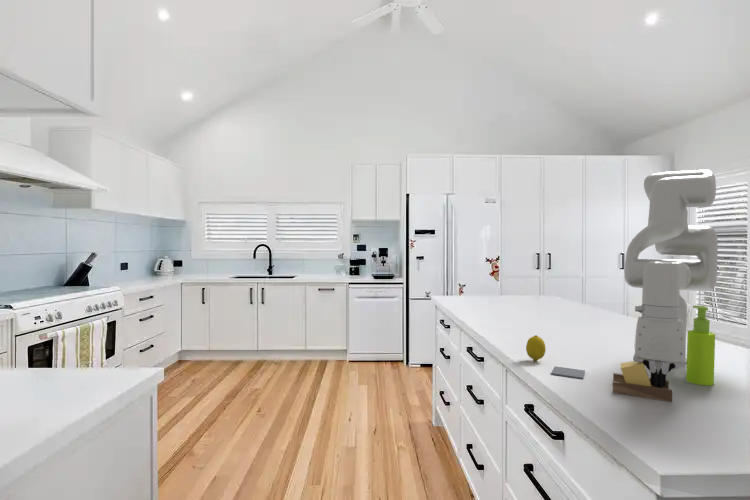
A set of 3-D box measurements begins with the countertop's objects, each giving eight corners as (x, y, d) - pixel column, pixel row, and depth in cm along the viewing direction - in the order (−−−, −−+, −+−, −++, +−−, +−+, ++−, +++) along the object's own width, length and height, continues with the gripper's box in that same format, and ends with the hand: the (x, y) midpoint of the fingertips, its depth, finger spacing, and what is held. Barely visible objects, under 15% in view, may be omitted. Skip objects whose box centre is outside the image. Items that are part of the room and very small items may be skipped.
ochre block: (628, 386, 113) (620, 363, 114) (650, 383, 111) (642, 359, 112) (629, 392, 109) (620, 368, 109) (652, 389, 106) (643, 364, 107)
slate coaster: (554, 367, 130) (554, 366, 130) (585, 371, 126) (585, 370, 126) (551, 374, 123) (551, 373, 123) (583, 379, 119) (583, 377, 119)
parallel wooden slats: (613, 382, 117) (613, 372, 117) (668, 390, 111) (668, 380, 111) (612, 392, 108) (613, 382, 108) (672, 401, 103) (672, 390, 103)
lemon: (546, 364, 133) (547, 337, 133) (527, 363, 134) (527, 336, 134) (543, 359, 139) (544, 333, 139) (524, 358, 140) (525, 332, 140)
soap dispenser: (707, 379, 121) (709, 305, 121) (717, 386, 115) (719, 308, 114) (681, 376, 123) (684, 303, 123) (690, 384, 116) (692, 307, 116)
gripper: (624, 311, 108) (622, 387, 108) (700, 317, 101) (698, 399, 101) (624, 308, 114) (622, 379, 115) (695, 313, 107) (693, 389, 108)
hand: (657, 388), depth 108 cm, fingers closed
